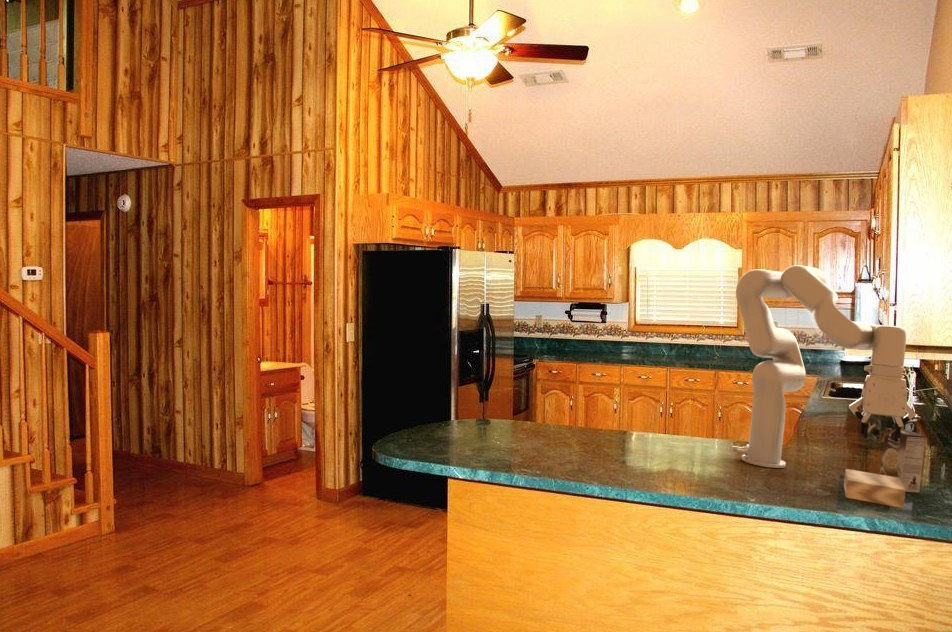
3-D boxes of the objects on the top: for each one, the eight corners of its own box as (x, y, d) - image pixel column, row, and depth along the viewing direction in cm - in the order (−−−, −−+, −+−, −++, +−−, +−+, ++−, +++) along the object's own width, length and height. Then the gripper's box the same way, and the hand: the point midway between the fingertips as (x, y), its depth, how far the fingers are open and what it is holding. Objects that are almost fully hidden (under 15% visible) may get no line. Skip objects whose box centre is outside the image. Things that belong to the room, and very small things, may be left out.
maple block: (845, 498, 184) (847, 480, 184) (843, 486, 198) (845, 468, 198) (903, 509, 179) (905, 489, 179) (897, 495, 192) (899, 477, 192)
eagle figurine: (902, 442, 186) (886, 429, 194) (891, 419, 185) (875, 407, 193) (874, 454, 187) (859, 441, 196) (863, 431, 186) (848, 419, 195)
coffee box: (877, 482, 205) (883, 427, 204) (897, 483, 206) (904, 428, 205) (899, 491, 196) (905, 434, 195) (920, 493, 197) (927, 435, 196)
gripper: (854, 369, 186) (846, 437, 186) (928, 377, 181) (920, 446, 182) (846, 367, 193) (839, 432, 193) (917, 374, 189) (910, 440, 189)
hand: (878, 438), depth 188 cm, fingers closed on eagle figurine, 6 cm apart
